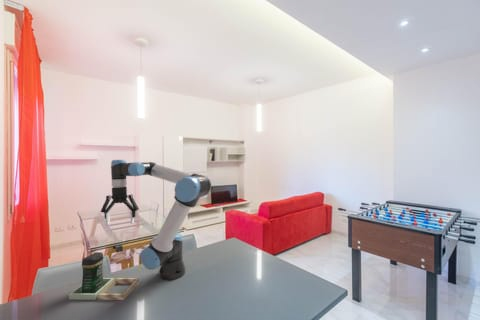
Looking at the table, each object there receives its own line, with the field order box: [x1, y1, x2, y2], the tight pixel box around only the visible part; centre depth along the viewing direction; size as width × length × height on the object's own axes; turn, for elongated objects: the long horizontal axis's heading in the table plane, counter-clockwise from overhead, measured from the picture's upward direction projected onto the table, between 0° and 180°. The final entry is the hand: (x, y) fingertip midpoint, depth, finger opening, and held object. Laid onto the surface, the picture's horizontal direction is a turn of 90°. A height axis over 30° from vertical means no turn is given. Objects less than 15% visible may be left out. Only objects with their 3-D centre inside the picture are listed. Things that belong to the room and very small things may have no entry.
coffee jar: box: [81, 251, 104, 293], centre depth 116 cm, size 10×8×19 cm
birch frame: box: [96, 277, 140, 301], centre depth 115 cm, size 13×15×2 cm
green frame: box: [68, 277, 115, 301], centre depth 116 cm, size 13×15×2 cm
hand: (120, 223), depth 128 cm, fingers open, 13 cm apart
